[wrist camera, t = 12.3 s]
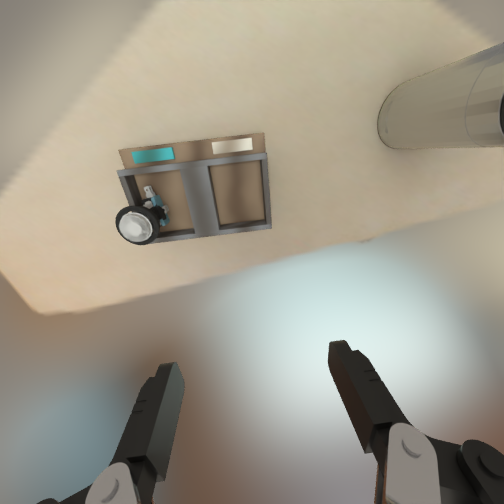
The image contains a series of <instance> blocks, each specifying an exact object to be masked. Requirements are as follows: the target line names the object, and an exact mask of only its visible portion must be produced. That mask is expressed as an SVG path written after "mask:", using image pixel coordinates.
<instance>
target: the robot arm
mask: <svg viewBox="0 0 504 504" xmlns="http://www.w3.org/2000/svg"><path fill="white" fill-rule="evenodd" d="M378 131H379V135H380V137H381V139H382V141H383V142H384V143H385V144H386V145H387V146H389V147H391V148H396V149H412V148H415V149H420V148H479V147H504V42H503V43H501V44H498V45H496V46H493V47H491V48H488V49H486V50H483V51H481V52H479V53H476V54H474V55H471V56H469V57H466V58H464V59H461V60H459V61H456V62H454V63H451V64H449V65H447V66H444V67H442V68H439V69H437V70H434V71H432V72H429V73H427V74H424V75H422V76H419V77H417V78H414V79H412V80H409V81H407V82H405V83H403V84H401V85H400V86H398V87H397V88H396V89H395V90H393V91H392V92H391V94H390V95H389V96H388V97H387V99H386V101H385V102H384V104H383V106H382V108H381V111H380V114H379V119H378ZM328 366H329V370H330V373H331V375H332V377H333V380H334V382H335V384H336V386H337V389H338V392H339V394H340V396H341V399H342V401H343V403H344V405H345V408H346V410H347V412H348V415H349V417H350V420H351V422H352V424H353V427H354V429H355V431H356V434H357V436H358V438H359V441H360V443H361V446H362V448H363V450H364V453H373V454H374V456H375V458H376V460H377V462H378V465H377V475H376V487H375V497H374V504H504V455H503V454H502V453H500V452H499V451H498V450H496V449H495V448H493V447H492V446H490V445H488V444H486V443H484V442H481V441H478V440H467V441H465V442H464V443H463V445H458V444H453V443H450V442H445V441H441V440H437V439H434V438H431V437H429V436H426V435H424V434H423V433H422V432H420V431H419V430H418V429H416V428H415V427H414V426H413V425H412V424H410V422H409V421H408V420H407V419H406V417H405V416H404V414H403V413H402V411H401V410H400V408H399V407H398V405H397V403H396V402H395V400H394V399H393V397H392V395H391V394H390V392H389V391H388V389H387V387H386V386H385V384H384V383H383V381H381V378H380V377H379V375H378V373H377V372H376V371H375V369H374V367H373V365H372V364H371V362H370V361H369V359H368V358H367V357H366V356H365V355H363V354H362V353H361V352H360V351H359V350H355V351H352V350H351V348H350V347H349V345H348V343H347V342H346V341H345V340H340V341H333V342H330V343H329V353H328ZM183 395H184V379H183V376H182V374H181V372H180V369H179V367H178V364H177V363H176V362H172V363H164V364H160V366H159V367H158V370H157V373H156V376H155V377H149V379H148V380H147V381H146V383H145V384H144V385H143V387H142V388H141V390H140V392H139V395H138V397H137V400H136V404H135V405H134V407H133V410H132V414H131V415H130V417H129V420H128V422H127V425H126V427H125V430H124V433H123V435H122V437H121V440H120V442H119V445H118V447H117V450H116V452H115V455H114V457H113V459H112V461H111V463H110V465H109V466H108V468H106V469H105V470H104V471H103V472H102V473H101V474H100V475H99V476H98V477H97V479H96V480H95V481H94V483H93V484H91V485H90V486H88V487H87V488H85V489H83V490H81V491H79V492H77V493H76V494H74V495H72V496H70V497H68V498H66V499H65V500H63V501H61V502H57V501H56V500H54V499H52V498H49V499H45V500H43V501H40V502H39V503H37V504H155V502H154V499H153V492H154V488H155V483H156V482H160V481H165V478H166V473H167V468H168V464H169V459H170V455H171V450H172V445H173V441H174V436H175V432H176V427H177V422H178V418H179V413H180V408H181V404H182V399H183Z"/></svg>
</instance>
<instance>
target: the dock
mask: <svg viewBox="0 0 504 504" xmlns="http://www.w3.org/2000/svg"><path fill="white" fill-rule="evenodd" d="M119 153H120V156H121V159H122V162H123V165H124V167H125V169H124V170H118V171H117V174H118V176H119V179H120V182H121V184H122V187H123V190H124V192H125V195H126V198H127V200H128V203H129V206H143V205H142V202H141V200H143V199H146V198H147V197H146V192H145V190H144V187H146V186H151V187H152V190H153V192H155V195H160V198H161V200H162V203H163V205H164V206H165V205H166V204H167V206H168V208H169V211H168V212H167V215H168V217H169V219H170V222H169V223H168V224H167V225H165V226H161V227H160V230H159V234H158V236H157V238H156V239H155V240H154V241H153V242H151V243H149V244H152V243H160V242H168V241H176V240H184V239H192V238H200V237H208V236H216V235H224V234H232V233H240V232H248V231H256V230H264V229H271V228H272V223H271V208H270V193H269V179H268V164H267V153H265V139H264V133H257V134H249V135H240V136H232V137H223V138H215V139H206V140H198V141H189V142H181V143H173V144H164V145H156V146H147V147H139V148H130V149H122V150H119ZM149 189H150V188H149ZM150 190H151V189H150ZM146 191H147V189H146ZM166 208H167V207H166ZM132 212H133V211H132ZM153 233H154V231H153V232H152V234H151V236H152V235H153Z"/></svg>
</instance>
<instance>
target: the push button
mask: <svg viewBox="0 0 504 504" xmlns="http://www.w3.org/2000/svg"><path fill="white" fill-rule="evenodd" d="M149 188H150V189H151V190H150V189H149ZM146 189H147V191H146ZM144 190H145V192H146V197H147V198H146V199H143V200H141V202H142V205H143V206H128V207H125V208H123V209H122V210H120V211H119V213H118V214H117V216H116V227H117V230H118V232H119V233H120V235H121V236H122V237H123V238H124V239H126V240H127V241H129V242H131V243H133V244H136V245H146V244H149V243H151V242H153V241H154V240H155V239H156V238H157V236H158V234H159V230H160V227H161V226H165V225H167V224H168V223H169V222H170V219H169V217H168V215H167V212H168V211H169V208H168V206H167V204H166V205H165V206H164V205H163V203H162V200H161V198H160V195H155V192H153V190H152V187H151V186H146V187H144ZM166 207H167V208H166ZM129 211H133V212H132V213H128V212H129ZM153 231H154V233H153V235H152V236H151V234H152V232H153Z"/></svg>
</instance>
